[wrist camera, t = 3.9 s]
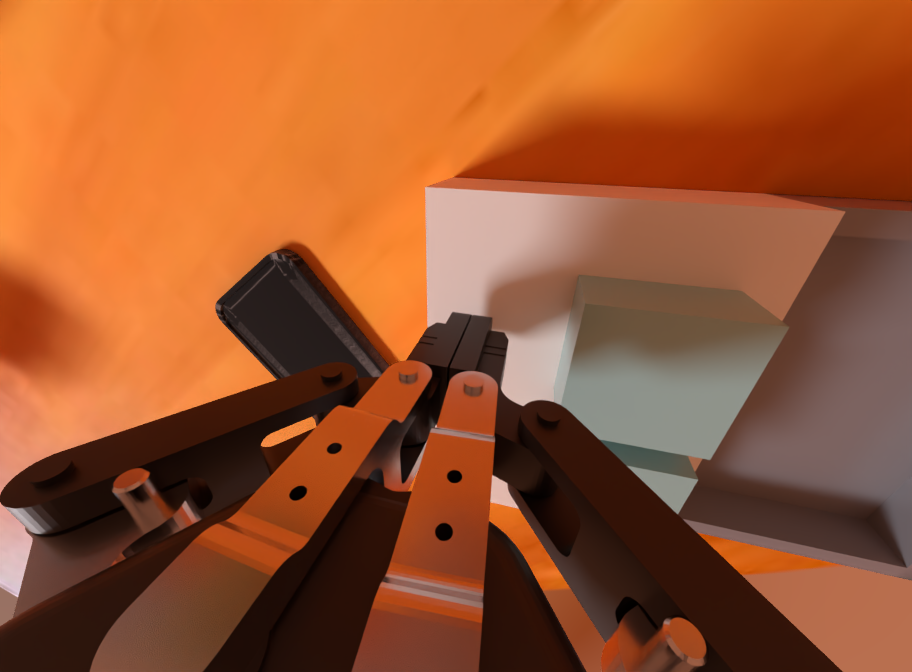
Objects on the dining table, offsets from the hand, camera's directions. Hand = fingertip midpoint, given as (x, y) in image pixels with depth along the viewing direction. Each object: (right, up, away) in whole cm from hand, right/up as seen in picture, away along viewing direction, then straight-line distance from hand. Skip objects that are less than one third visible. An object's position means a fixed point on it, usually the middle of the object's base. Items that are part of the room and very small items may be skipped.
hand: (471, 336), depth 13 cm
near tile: (+6, 0, 0) cm, 6 cm away
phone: (-9, -2, +10) cm, 13 cm away
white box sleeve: (+5, -1, +5) cm, 7 cm away
